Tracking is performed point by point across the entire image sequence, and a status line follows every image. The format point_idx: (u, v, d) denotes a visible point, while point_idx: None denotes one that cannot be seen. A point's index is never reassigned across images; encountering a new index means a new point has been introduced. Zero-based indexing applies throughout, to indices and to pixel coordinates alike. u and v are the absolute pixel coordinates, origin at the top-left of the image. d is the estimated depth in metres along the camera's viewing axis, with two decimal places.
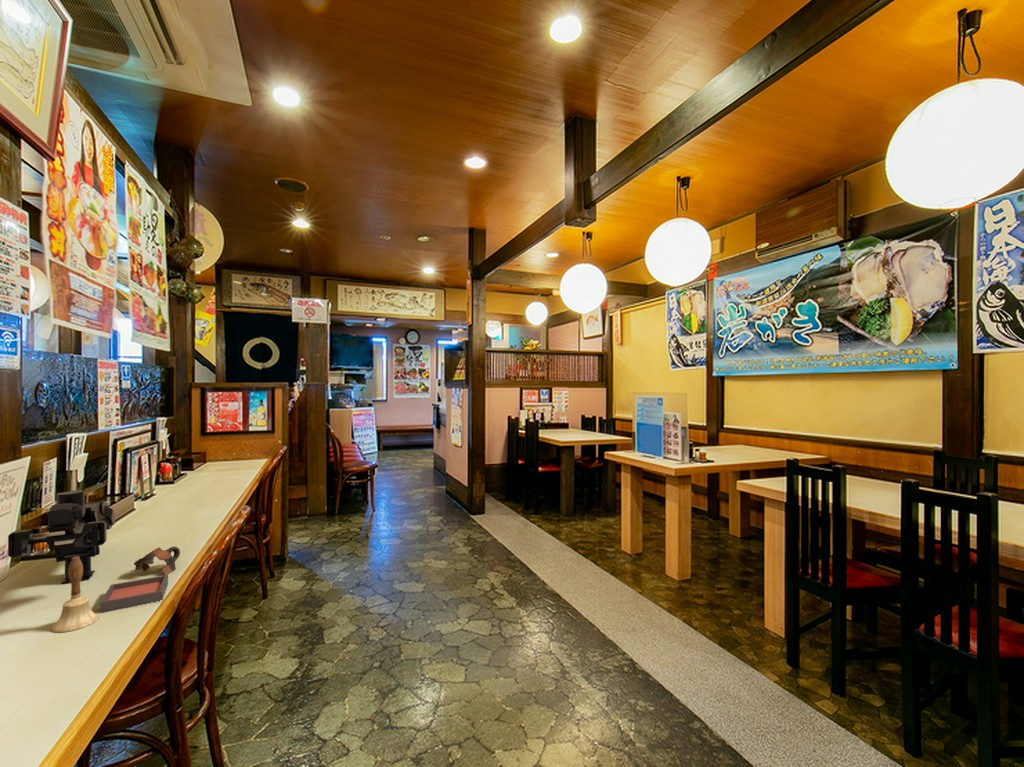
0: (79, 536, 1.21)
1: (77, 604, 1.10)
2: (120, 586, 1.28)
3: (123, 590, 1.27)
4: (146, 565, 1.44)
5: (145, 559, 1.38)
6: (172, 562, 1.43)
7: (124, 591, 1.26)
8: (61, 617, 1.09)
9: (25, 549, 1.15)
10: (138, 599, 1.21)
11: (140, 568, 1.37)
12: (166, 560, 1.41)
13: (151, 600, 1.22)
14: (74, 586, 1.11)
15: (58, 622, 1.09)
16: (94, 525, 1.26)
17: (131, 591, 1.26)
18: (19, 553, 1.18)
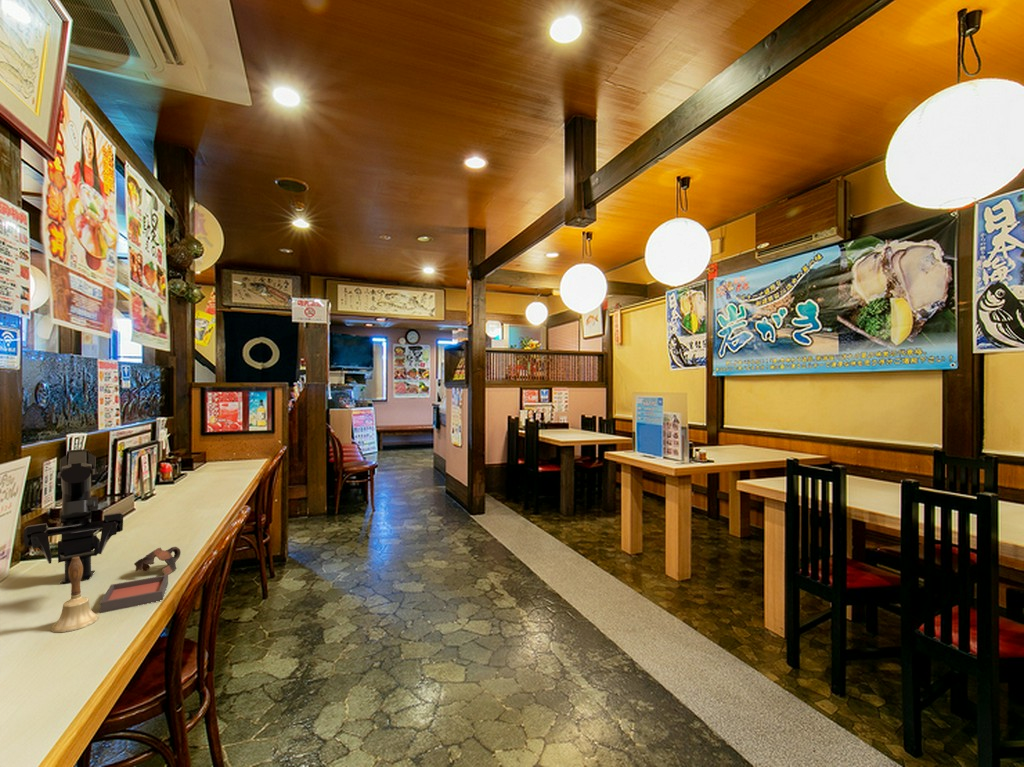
0: (102, 540, 1.22)
1: (77, 604, 1.10)
2: (120, 586, 1.28)
3: (123, 590, 1.27)
4: (146, 565, 1.44)
5: (146, 559, 1.38)
6: (173, 562, 1.43)
7: (124, 591, 1.26)
8: (61, 617, 1.09)
9: (51, 559, 1.15)
10: (138, 599, 1.21)
11: (141, 568, 1.37)
12: (167, 560, 1.41)
13: (151, 600, 1.22)
14: (74, 586, 1.11)
15: (58, 622, 1.09)
16: (113, 523, 1.24)
17: (131, 591, 1.26)
18: (37, 546, 1.17)
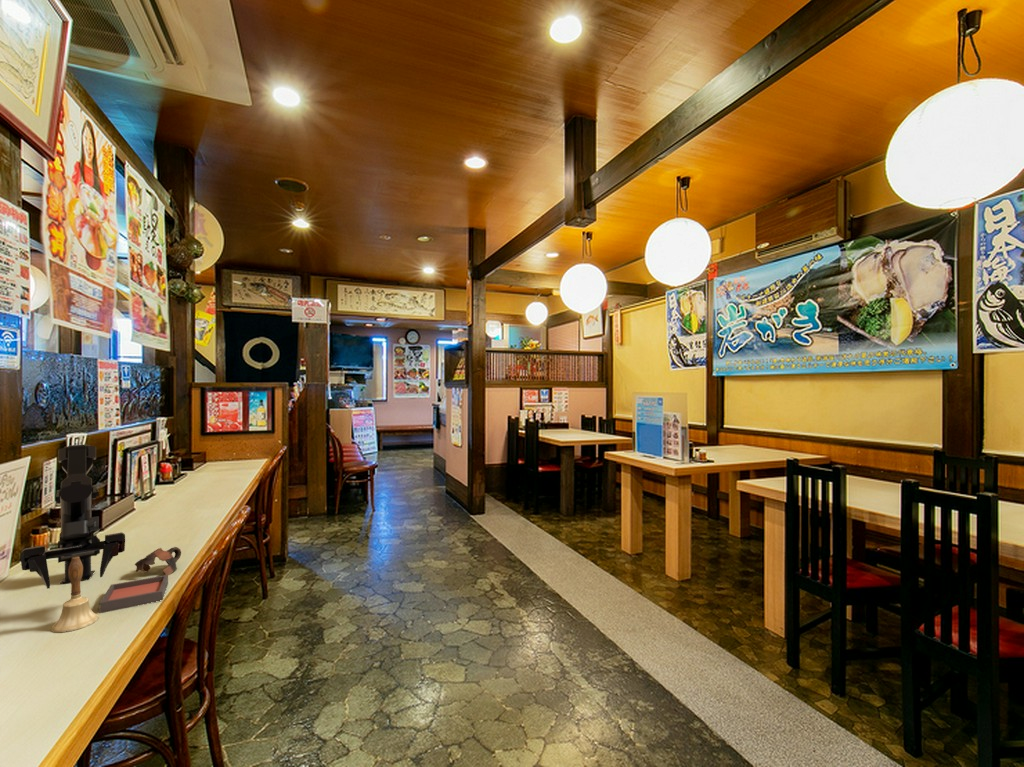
0: (103, 562, 1.16)
1: (77, 604, 1.10)
2: (120, 586, 1.28)
3: (123, 590, 1.27)
4: (147, 566, 1.43)
5: (146, 560, 1.38)
6: (173, 563, 1.43)
7: (124, 591, 1.26)
8: (61, 617, 1.09)
9: (49, 583, 1.09)
10: (138, 599, 1.21)
11: (141, 569, 1.37)
12: (167, 561, 1.41)
13: (151, 600, 1.22)
14: (74, 586, 1.11)
15: (58, 622, 1.09)
16: (115, 544, 1.19)
17: (131, 591, 1.26)
18: (35, 569, 1.11)
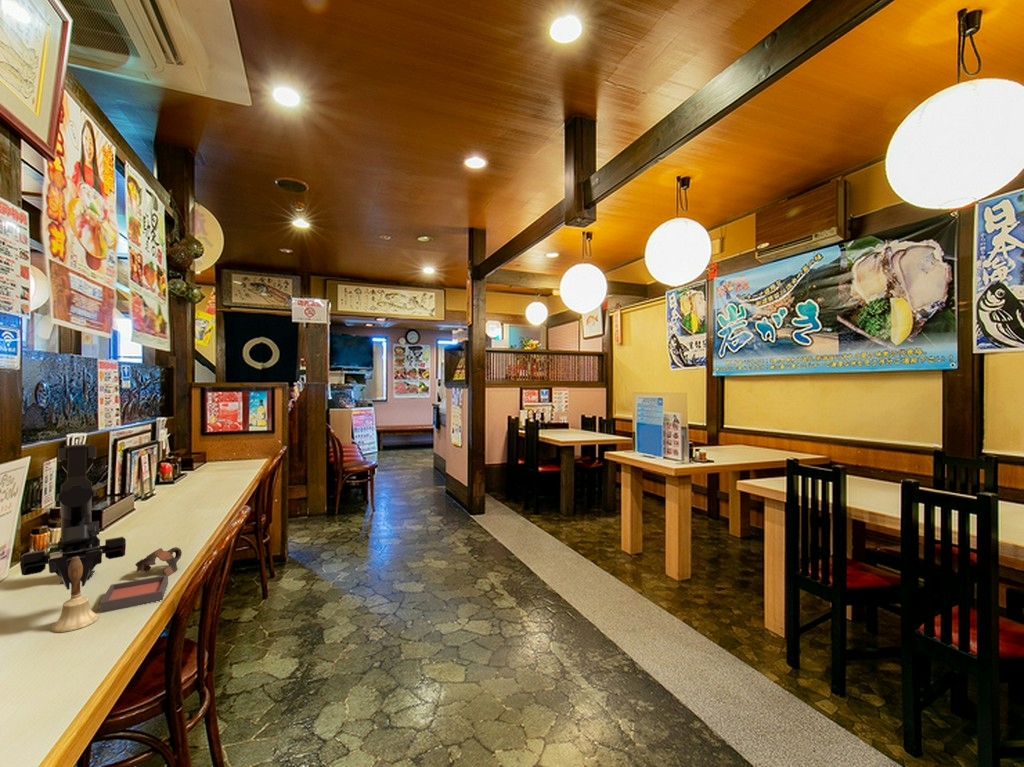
0: (85, 571, 1.13)
1: (77, 604, 1.10)
2: (120, 586, 1.28)
3: (123, 590, 1.27)
4: (147, 566, 1.43)
5: (147, 560, 1.38)
6: (174, 563, 1.43)
7: (124, 591, 1.26)
8: (61, 617, 1.09)
9: (69, 585, 1.10)
10: (138, 599, 1.21)
11: (142, 569, 1.37)
12: (168, 561, 1.41)
13: (151, 600, 1.22)
14: (74, 585, 1.11)
15: (58, 622, 1.09)
16: (98, 552, 1.15)
17: (131, 591, 1.26)
18: (55, 571, 1.13)
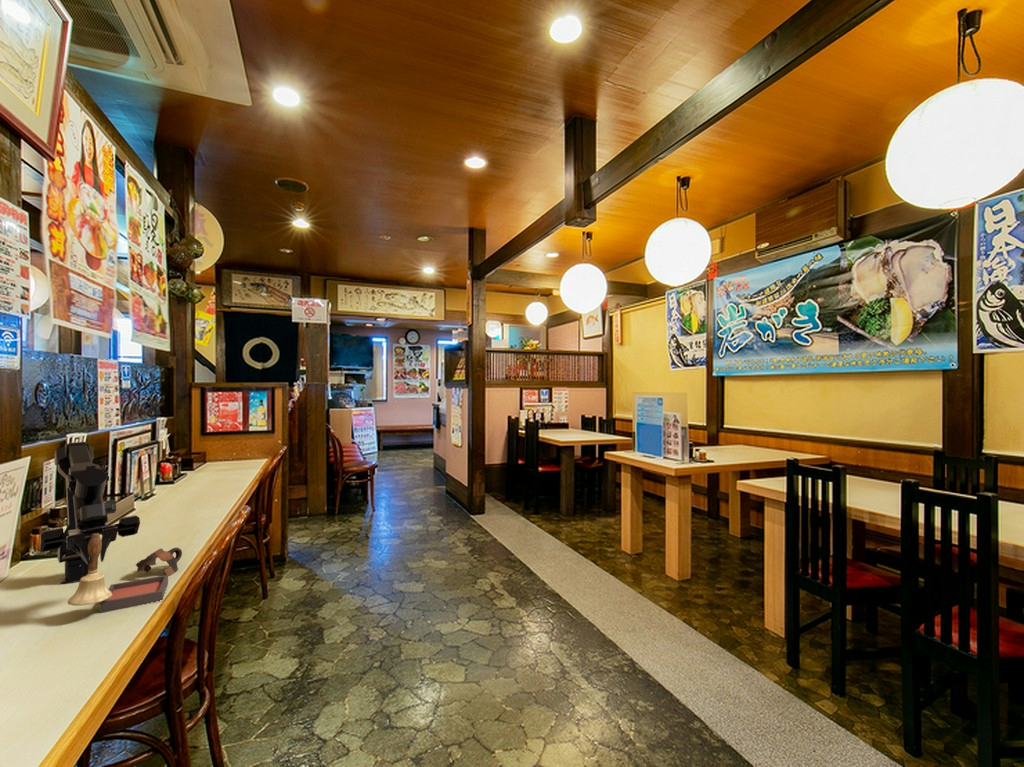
0: (104, 547, 1.18)
1: (94, 579, 1.15)
2: (120, 586, 1.28)
3: (123, 590, 1.27)
4: (148, 566, 1.43)
5: (147, 560, 1.38)
6: (174, 563, 1.43)
7: (124, 591, 1.26)
8: (78, 591, 1.14)
9: None
10: (138, 599, 1.21)
11: (142, 569, 1.37)
12: (168, 561, 1.40)
13: (151, 600, 1.22)
14: (92, 561, 1.16)
15: (75, 596, 1.13)
16: (114, 529, 1.20)
17: (131, 591, 1.26)
18: (72, 547, 1.17)
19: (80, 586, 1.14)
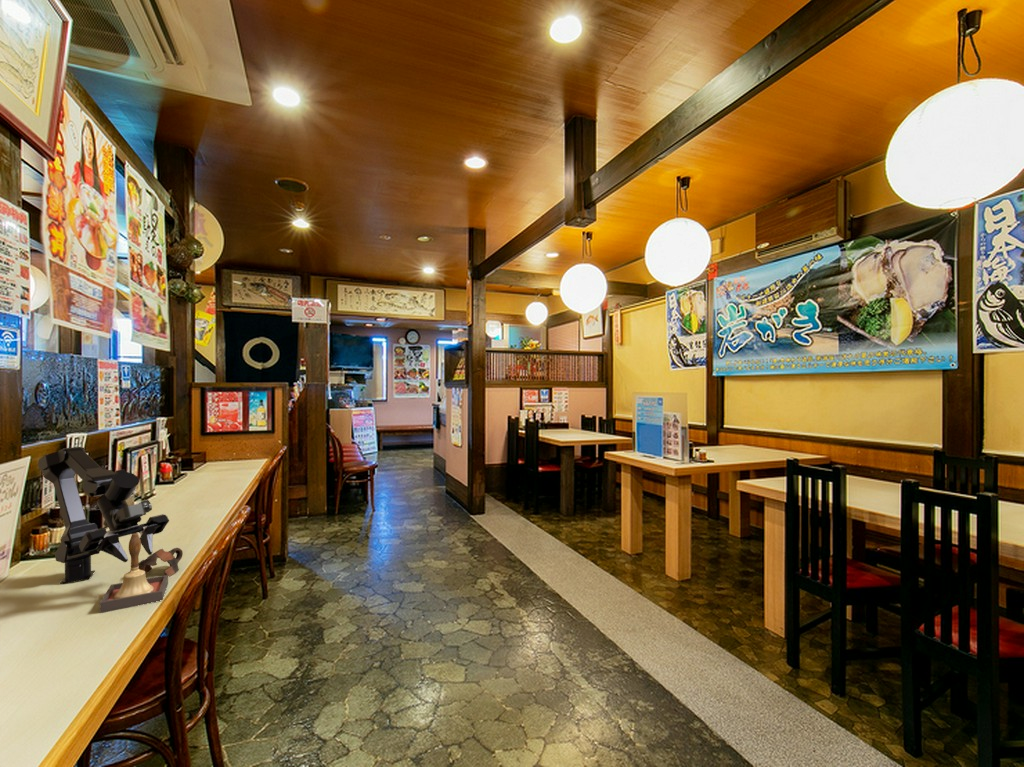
0: (150, 542, 1.28)
1: (140, 574, 1.24)
2: (120, 586, 1.28)
3: None
4: (148, 567, 1.42)
5: (148, 561, 1.37)
6: (175, 563, 1.42)
7: None
8: (125, 587, 1.22)
9: None
10: (138, 599, 1.21)
11: (143, 570, 1.36)
12: (169, 561, 1.40)
13: (151, 600, 1.22)
14: (135, 559, 1.24)
15: (123, 592, 1.22)
16: (156, 526, 1.31)
17: None
18: (102, 549, 1.23)
19: (127, 582, 1.23)
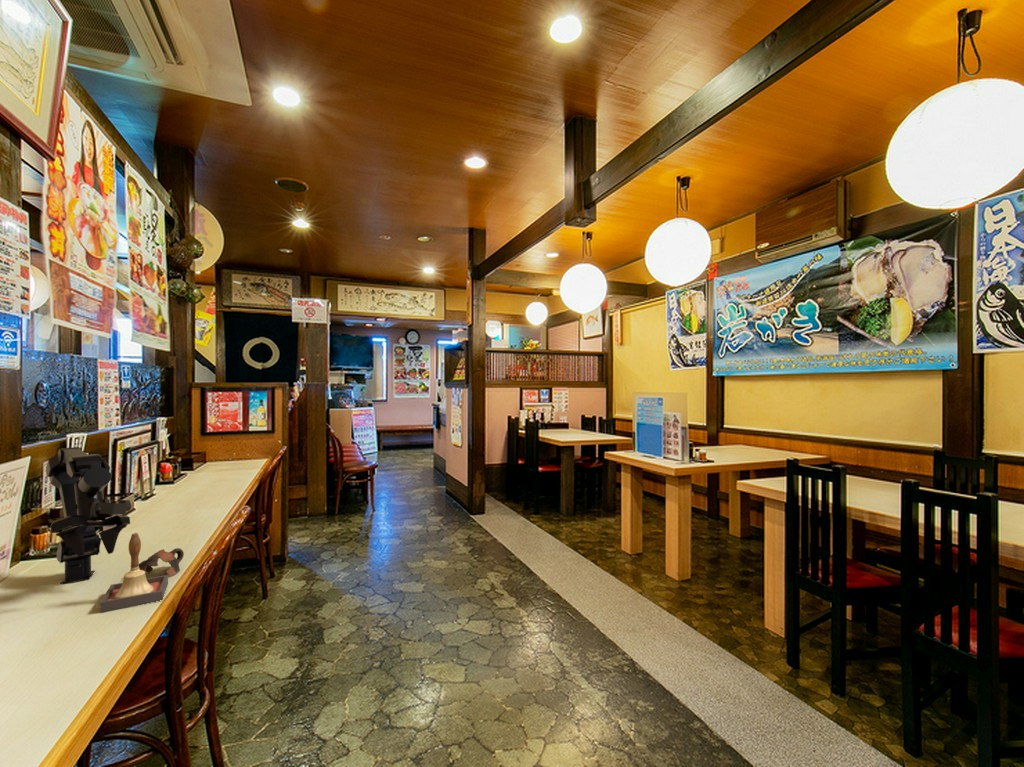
0: (114, 541, 1.32)
1: (140, 574, 1.24)
2: (120, 586, 1.28)
3: None
4: (149, 567, 1.42)
5: (149, 561, 1.37)
6: (176, 564, 1.42)
7: None
8: (125, 587, 1.22)
9: None
10: (138, 599, 1.21)
11: (144, 570, 1.36)
12: (170, 562, 1.40)
13: (151, 600, 1.22)
14: (135, 559, 1.24)
15: (123, 592, 1.22)
16: (125, 526, 1.35)
17: None
18: (61, 534, 1.21)
19: (127, 582, 1.23)
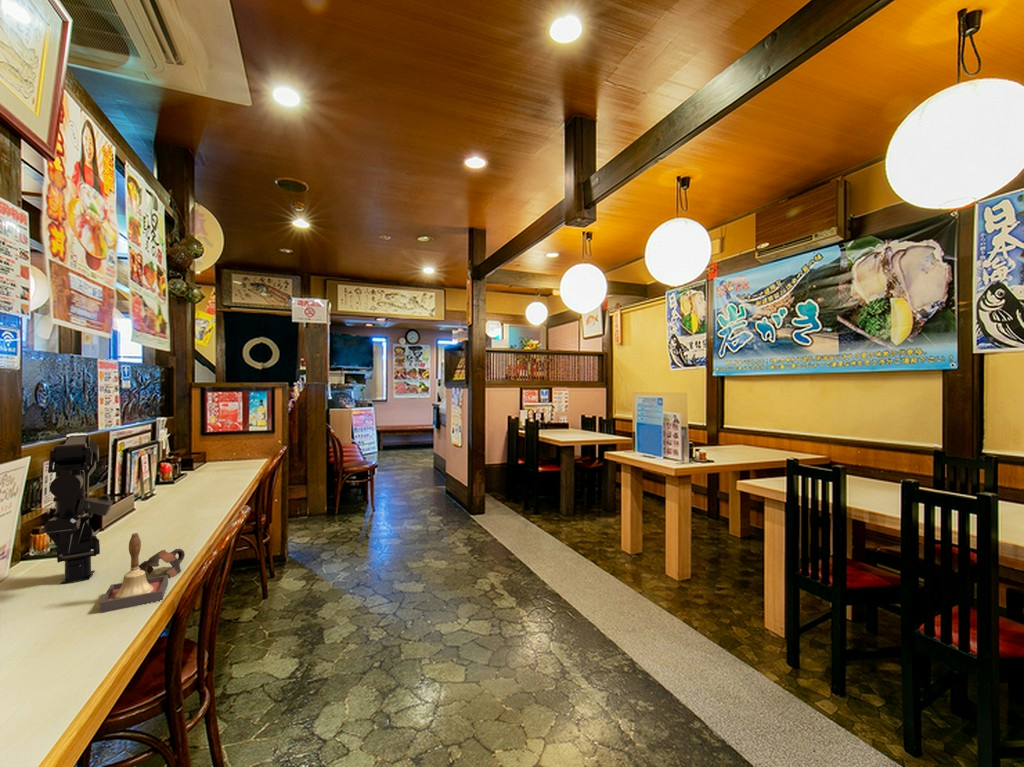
0: (81, 532, 1.30)
1: (140, 574, 1.24)
2: (120, 586, 1.28)
3: None
4: (150, 568, 1.42)
5: (150, 562, 1.36)
6: (177, 564, 1.42)
7: None
8: (125, 587, 1.22)
9: None
10: (138, 599, 1.21)
11: (145, 571, 1.35)
12: (171, 562, 1.39)
13: (151, 600, 1.22)
14: (135, 559, 1.25)
15: (123, 592, 1.22)
16: (90, 516, 1.33)
17: None
18: None
19: (127, 582, 1.23)
